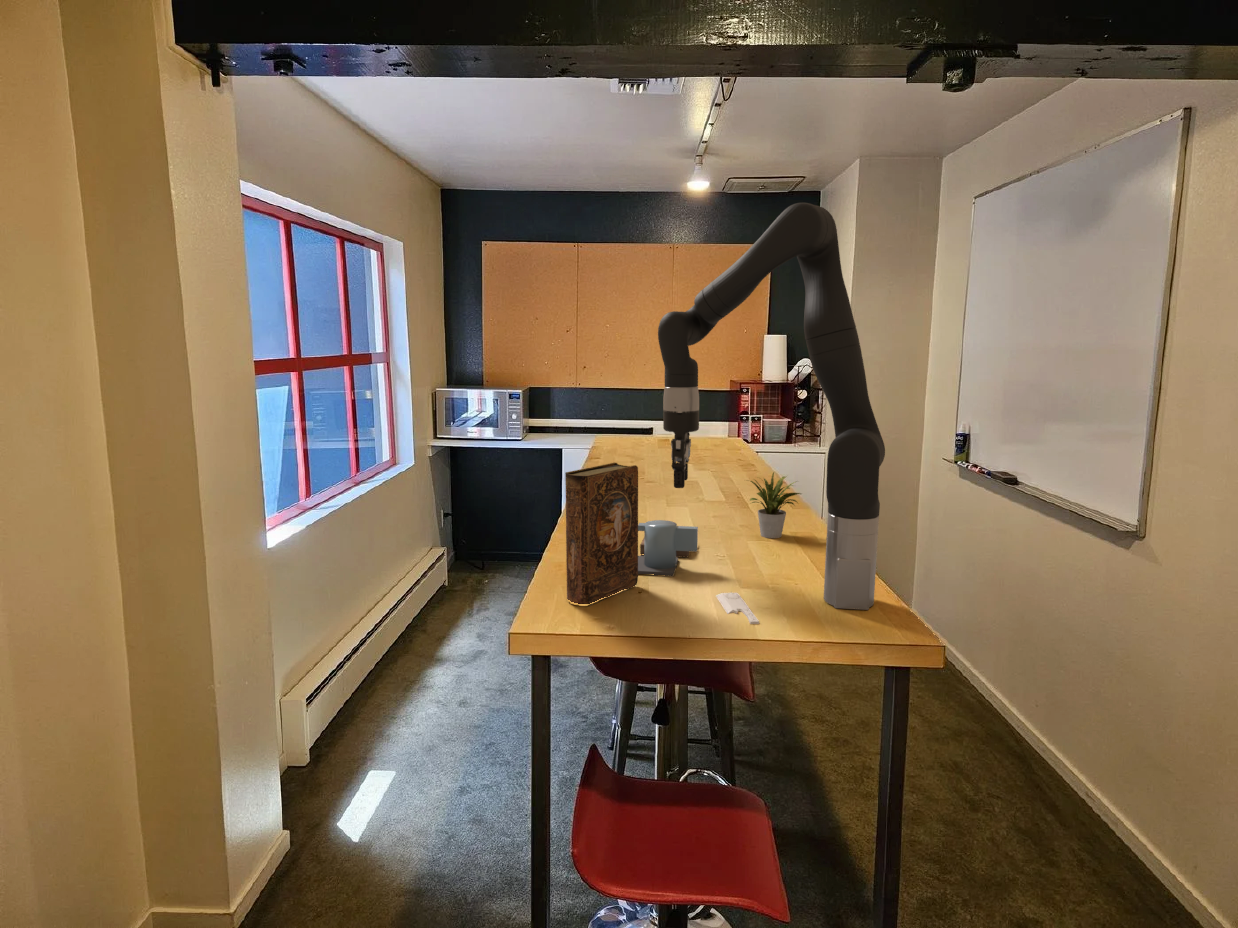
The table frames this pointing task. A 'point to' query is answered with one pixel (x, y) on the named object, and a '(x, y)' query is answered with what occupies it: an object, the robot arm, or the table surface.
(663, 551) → the jug
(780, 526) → the house plant
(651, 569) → the mat
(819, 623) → the table surface
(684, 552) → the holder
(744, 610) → the white plastic strip tool
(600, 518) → the book
